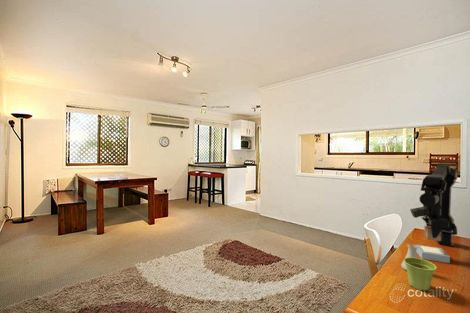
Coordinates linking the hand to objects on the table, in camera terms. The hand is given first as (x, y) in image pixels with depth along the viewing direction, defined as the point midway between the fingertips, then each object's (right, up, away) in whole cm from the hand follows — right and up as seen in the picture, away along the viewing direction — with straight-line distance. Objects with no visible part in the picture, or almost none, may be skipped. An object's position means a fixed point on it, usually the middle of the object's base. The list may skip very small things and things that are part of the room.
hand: (432, 235), depth 110 cm
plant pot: (-26, -10, -24) cm, 37 cm away
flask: (-19, -10, -12) cm, 25 cm away
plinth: (0, -10, 0) cm, 10 cm away
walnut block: (0, -1, 0) cm, 1 cm away
